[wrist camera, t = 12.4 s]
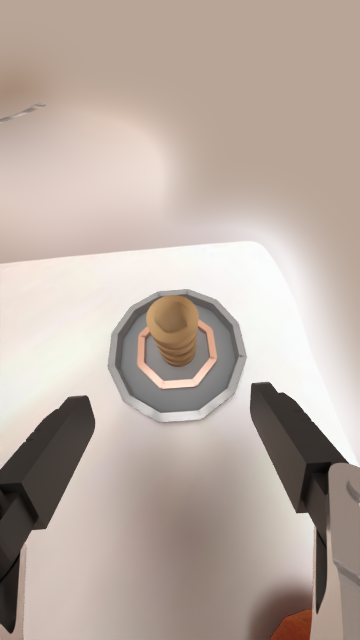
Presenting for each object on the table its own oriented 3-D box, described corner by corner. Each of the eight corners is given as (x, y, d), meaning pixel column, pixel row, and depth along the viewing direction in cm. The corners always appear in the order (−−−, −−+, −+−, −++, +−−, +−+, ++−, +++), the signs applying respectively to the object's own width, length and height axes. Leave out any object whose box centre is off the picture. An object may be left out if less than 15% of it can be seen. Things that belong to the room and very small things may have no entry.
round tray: (109, 424, 20) (100, 426, 18) (122, 303, 27) (116, 294, 25) (252, 414, 20) (260, 415, 17) (226, 295, 27) (229, 285, 25)
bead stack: (161, 368, 22) (145, 343, 14) (160, 335, 24) (146, 296, 16) (197, 365, 22) (201, 339, 14) (193, 332, 24) (195, 293, 16)
